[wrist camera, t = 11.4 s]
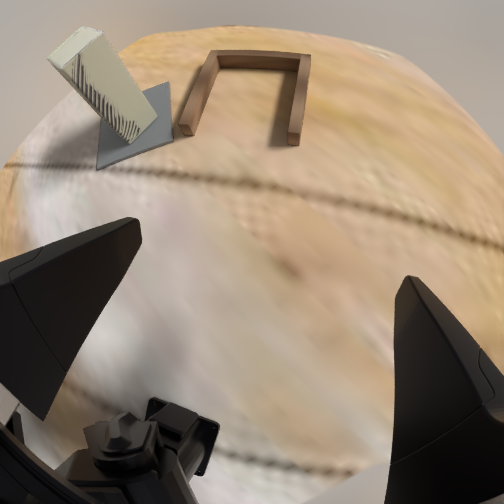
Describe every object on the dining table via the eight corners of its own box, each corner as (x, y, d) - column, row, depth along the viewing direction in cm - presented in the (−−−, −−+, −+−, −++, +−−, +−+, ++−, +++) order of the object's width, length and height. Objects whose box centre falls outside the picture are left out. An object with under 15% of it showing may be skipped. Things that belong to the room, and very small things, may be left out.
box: (109, 127, 26) (43, 59, 14) (136, 100, 27) (81, 24, 14) (132, 147, 25) (58, 69, 13) (162, 116, 26) (103, 29, 13)
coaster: (173, 141, 25) (172, 139, 25) (98, 170, 26) (96, 168, 26) (169, 83, 27) (168, 81, 27) (104, 110, 28) (102, 108, 27)
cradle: (299, 145, 24) (299, 133, 22) (184, 135, 25) (178, 124, 23) (310, 67, 25) (310, 54, 23) (214, 62, 27) (210, 50, 25)
